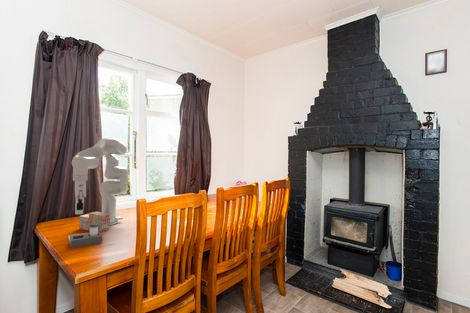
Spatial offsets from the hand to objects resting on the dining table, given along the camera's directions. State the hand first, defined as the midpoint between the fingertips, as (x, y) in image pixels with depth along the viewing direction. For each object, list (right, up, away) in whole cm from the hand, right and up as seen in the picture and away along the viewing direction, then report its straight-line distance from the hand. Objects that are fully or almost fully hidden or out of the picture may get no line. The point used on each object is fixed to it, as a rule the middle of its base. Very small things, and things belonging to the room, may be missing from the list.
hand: (79, 208), depth 145 cm
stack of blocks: (-5, -20, +24) cm, 31 cm away
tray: (-3, -20, +6) cm, 21 cm away
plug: (0, -3, 0) cm, 3 cm away
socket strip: (+6, -20, -4) cm, 21 cm away
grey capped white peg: (+9, -19, -1) cm, 21 cm away
